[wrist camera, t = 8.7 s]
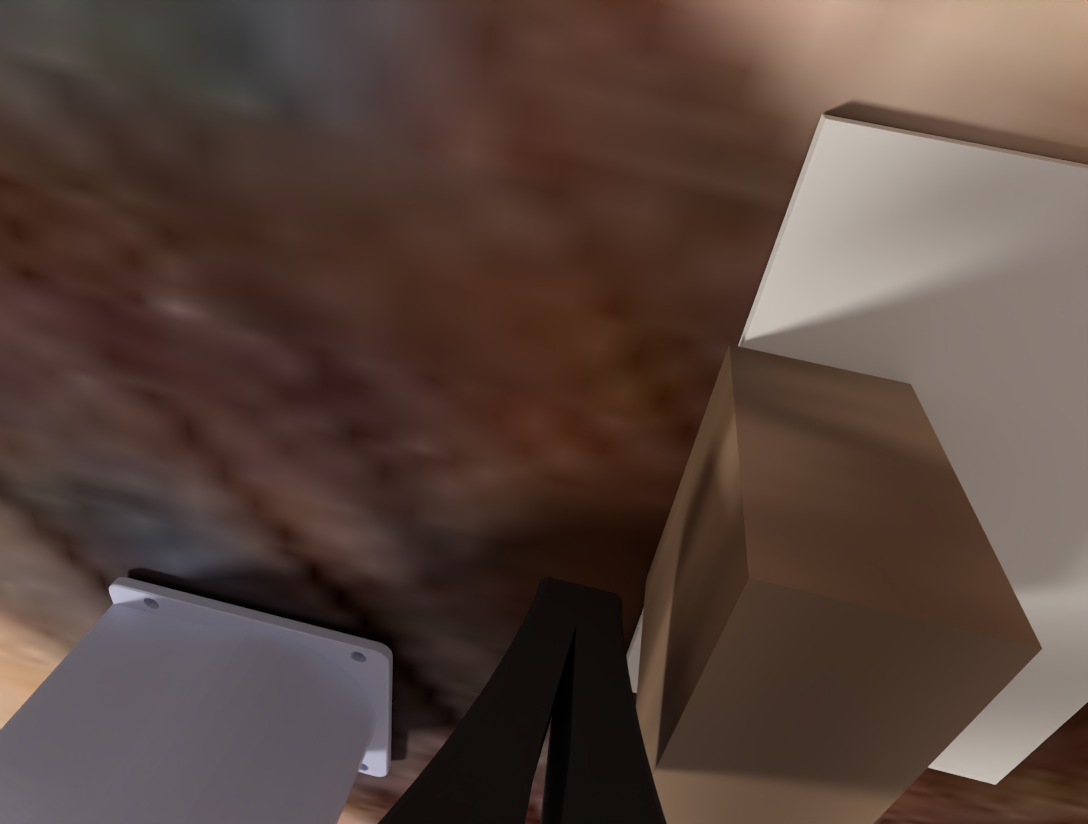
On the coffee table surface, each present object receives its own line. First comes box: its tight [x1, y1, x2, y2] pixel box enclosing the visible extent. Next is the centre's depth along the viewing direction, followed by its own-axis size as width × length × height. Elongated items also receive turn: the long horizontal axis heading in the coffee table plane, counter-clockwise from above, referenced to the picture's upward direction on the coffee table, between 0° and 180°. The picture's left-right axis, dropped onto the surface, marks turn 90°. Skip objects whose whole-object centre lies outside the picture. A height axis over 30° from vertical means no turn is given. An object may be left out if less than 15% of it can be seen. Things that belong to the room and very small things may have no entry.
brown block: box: [636, 344, 1042, 824], centre depth 13 cm, size 4×7×6 cm, turn 172°
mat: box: [626, 114, 1088, 785], centre depth 15 cm, size 11×16×1 cm
